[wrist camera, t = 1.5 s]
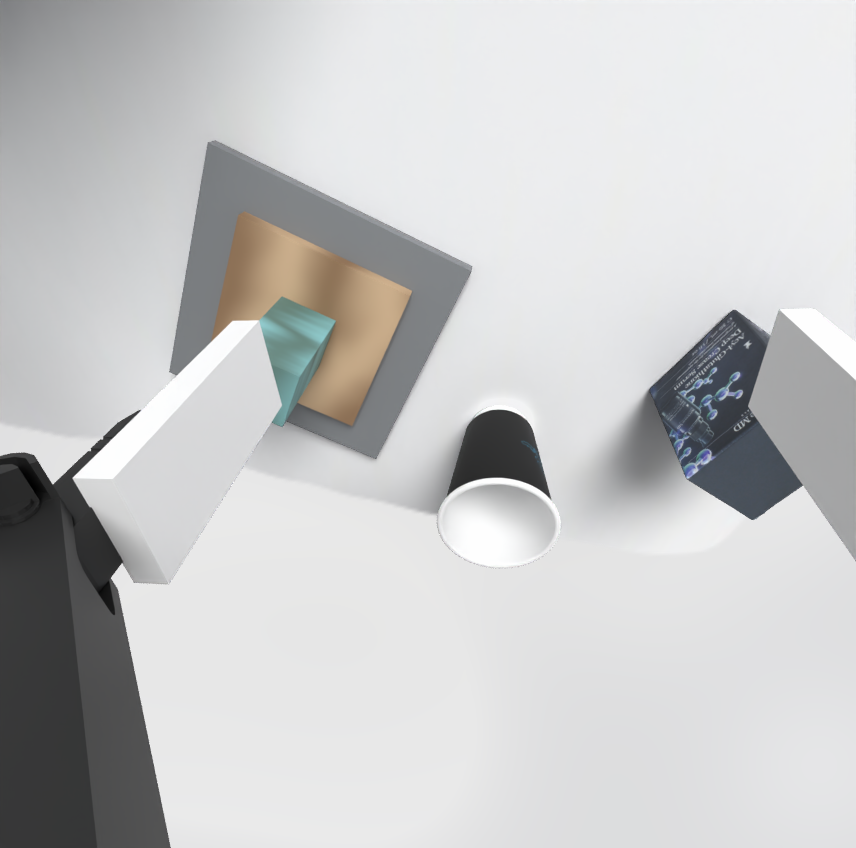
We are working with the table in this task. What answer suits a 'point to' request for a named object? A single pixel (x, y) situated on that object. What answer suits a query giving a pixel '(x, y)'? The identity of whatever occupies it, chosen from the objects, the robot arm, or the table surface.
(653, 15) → the table surface
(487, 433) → the dixie cup
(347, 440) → the mat
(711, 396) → the box
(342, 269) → the lid
